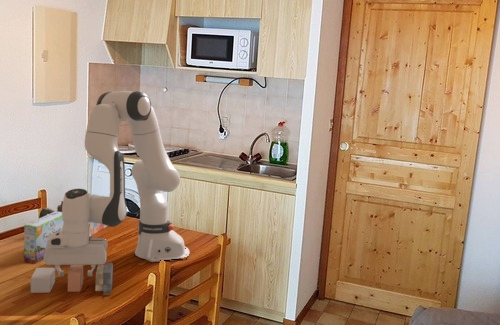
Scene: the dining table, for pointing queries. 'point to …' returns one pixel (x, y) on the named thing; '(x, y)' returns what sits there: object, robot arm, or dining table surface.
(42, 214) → the teapot
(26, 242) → the snack box
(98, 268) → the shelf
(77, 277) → the pink rectangular block
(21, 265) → the dining table surface
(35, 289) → the gray block
